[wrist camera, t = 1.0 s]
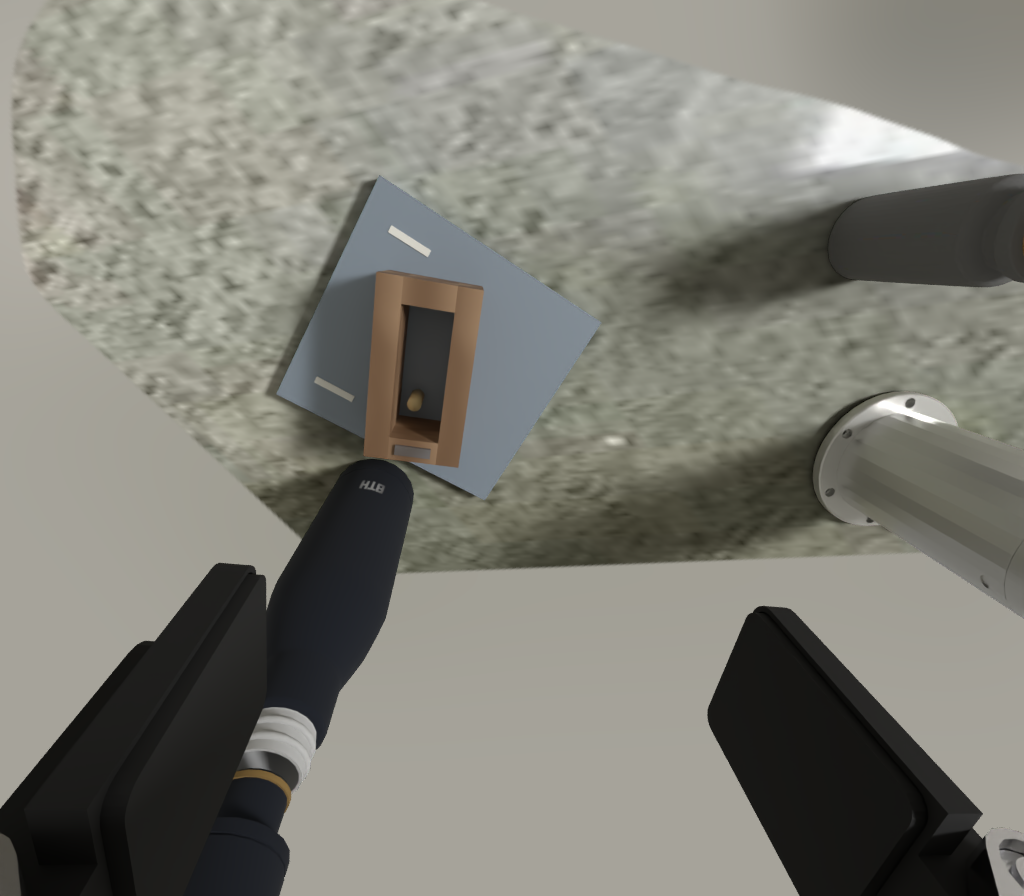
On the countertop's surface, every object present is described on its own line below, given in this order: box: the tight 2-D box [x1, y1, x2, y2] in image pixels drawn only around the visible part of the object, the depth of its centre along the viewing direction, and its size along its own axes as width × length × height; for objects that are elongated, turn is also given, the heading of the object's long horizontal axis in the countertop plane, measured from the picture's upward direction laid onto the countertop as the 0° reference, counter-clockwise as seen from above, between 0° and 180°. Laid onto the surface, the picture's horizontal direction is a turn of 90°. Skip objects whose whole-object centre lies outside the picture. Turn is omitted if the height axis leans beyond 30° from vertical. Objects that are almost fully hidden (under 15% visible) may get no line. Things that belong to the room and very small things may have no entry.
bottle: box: [828, 174, 1024, 287], centre depth 30 cm, size 6×6×15 cm
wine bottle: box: [183, 459, 414, 896], centre depth 27 cm, size 6×6×30 cm
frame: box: [363, 270, 484, 468], centre depth 34 cm, size 6×12×5 cm, turn 170°
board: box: [276, 175, 601, 500], centre depth 36 cm, size 18×17×4 cm
